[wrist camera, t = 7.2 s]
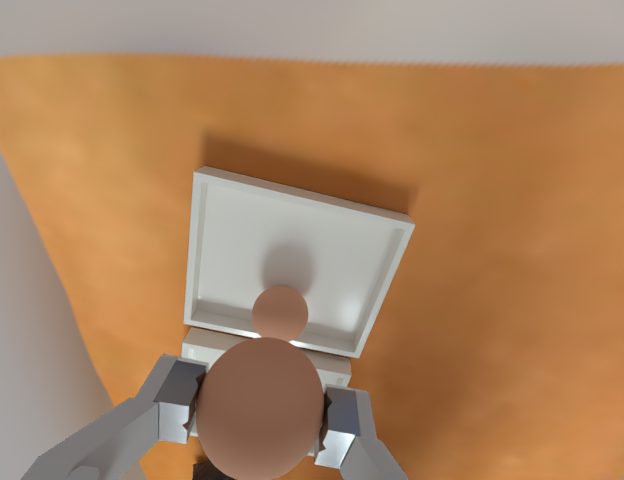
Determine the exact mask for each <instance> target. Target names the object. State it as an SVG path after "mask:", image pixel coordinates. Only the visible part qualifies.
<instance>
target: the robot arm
mask: <svg viewBox="0 0 624 480" xmlns="http://www.w3.org/2000/svg"><path fill="white" fill-rule="evenodd" d="M208 371H209V363H207V362H203V361H198V360H193V359H188V358H184V357H179V356H173V355H168V354H163V355H162V356H161V357H160V358H159V360H158V361H157V363H156V364H155V366H154V368H153V369H152V371H151V373H150V374H149V376H148V378H147V379H146V381H145V382H144V384H143V386H142V387H141V389H140V391H139V392H138V394H137V395H136V397H135V398H129V399H127V400H125V401H124V402H122V403H121V404H119V405H118V406H116V407H115V408H113V409H112V410H110V411H108V412H107V413H106V414H104V415H102V416H101V417H99V418H98V419H96V420H95V421H93V422H92V423H90V424H88V425H87V426H85V427H84V428H82V429H81V430H79V431H78V432H76V433H75V434H73V435H71V436H70V437H68V438H67V439H65V440H64V441H62V442H61V443H59V444H58V445H56V446H55V447H53V448H51V449H50V450H48V451H47V452H45V453H44V454H42V455H41V456H39V457H38V458H37V459H36V461H35V462H34V463H33V464H32V466H31V467H30V468H29V469H28V471H27V472H26V473H25V475H24V476H23V477H22V479H21V480H118V479H119V478H120V477H121V476H122V475H123V474H124V473H125V472H126V471H127V470H128V469H129V468H131V467H132V466H133V465H134V464H135V463H136V462H137V461H138V460H139V459H140V458H141V457H142V456H144V455H145V454H146V453H147V452H148V451H149V450H150V449H151V448H152V447H153V446H154V445H155V444H156V443H157V442H158V440H161V441H168V442H176V443H184V444H186V443H187V440H188V438H189V435H190V432H191V430H192V427H193V425H194V422H195V413H196V403H197V398H198V393H199V390H200V387H201V385H202V382H203V380H204V378H205V376H206V374H207V373H208ZM323 394H324V414H323V420H322V425H321V428H320V431H319V434H318V437H317V439H316V441H315V443H314V464H316V465H321V466H326V467H332V468H337V469H340V470H339V471H340V473H341V475H342V477H343V480H409V478H408V477H407V476H406V474H405V473H404V471H403V470H402V468H401V467H400V466H399V464H398V463H397V461H396V460H395V459H394V457H393V456H392V454H391V453H390V451H389V450H388V449H387V447H386V446H385V444H384V443H383V442H382V440H378V439H377V435H376V429H375V424H374V418H373V412H372V406H371V401H370V395H369V393H368V391H365V390H359V389H353V388H350V387H344V386H338V385H332V384H325V385H324V387H323Z"/></svg>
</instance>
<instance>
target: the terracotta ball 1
mask: <svg viewBox="0 0 624 480" xmlns="http://www.w3.org/2000/svg"><path fill="white" fill-rule="evenodd" d="M307 321H308V307H307V303H306V301H305V299H304V298H303V296H302V295H301V294H300V293H299V292H298V291H296V290H295V289H293V288H291V287H288V286H274V287H271V288H268V289H266V290H265V291H263V292H262V293H261V294H260V295H259V296H258V298H257V299H256V301H255V303H254V305H253V308H252V322H253V325H254V328H255V330H256V331H257V333H258V334H259V335H260V336H261V337H271V338H277V339H281V340H284V341H287V342H290V341H292V340H294V339H296V338H297V337H298V336H299V335H300V334H301V333H302V332H303V330H304V329H305V327H306V324H307Z"/></svg>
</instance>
